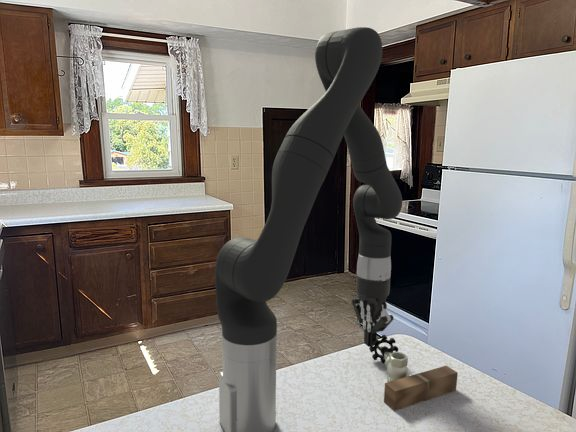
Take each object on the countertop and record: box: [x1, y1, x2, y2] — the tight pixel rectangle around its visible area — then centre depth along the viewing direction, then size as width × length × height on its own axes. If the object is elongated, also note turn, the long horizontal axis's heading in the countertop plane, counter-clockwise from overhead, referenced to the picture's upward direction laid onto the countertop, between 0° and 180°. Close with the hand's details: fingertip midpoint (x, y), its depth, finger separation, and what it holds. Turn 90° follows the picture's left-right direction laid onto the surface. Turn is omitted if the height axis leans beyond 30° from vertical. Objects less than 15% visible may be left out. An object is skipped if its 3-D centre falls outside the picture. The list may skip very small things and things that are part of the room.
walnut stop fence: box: [383, 365, 459, 412], centre depth 83 cm, size 16×3×4 cm, turn 116°
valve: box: [368, 334, 409, 383], centre depth 90 cm, size 7×7×12 cm
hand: (369, 344), depth 98 cm, fingers closed
